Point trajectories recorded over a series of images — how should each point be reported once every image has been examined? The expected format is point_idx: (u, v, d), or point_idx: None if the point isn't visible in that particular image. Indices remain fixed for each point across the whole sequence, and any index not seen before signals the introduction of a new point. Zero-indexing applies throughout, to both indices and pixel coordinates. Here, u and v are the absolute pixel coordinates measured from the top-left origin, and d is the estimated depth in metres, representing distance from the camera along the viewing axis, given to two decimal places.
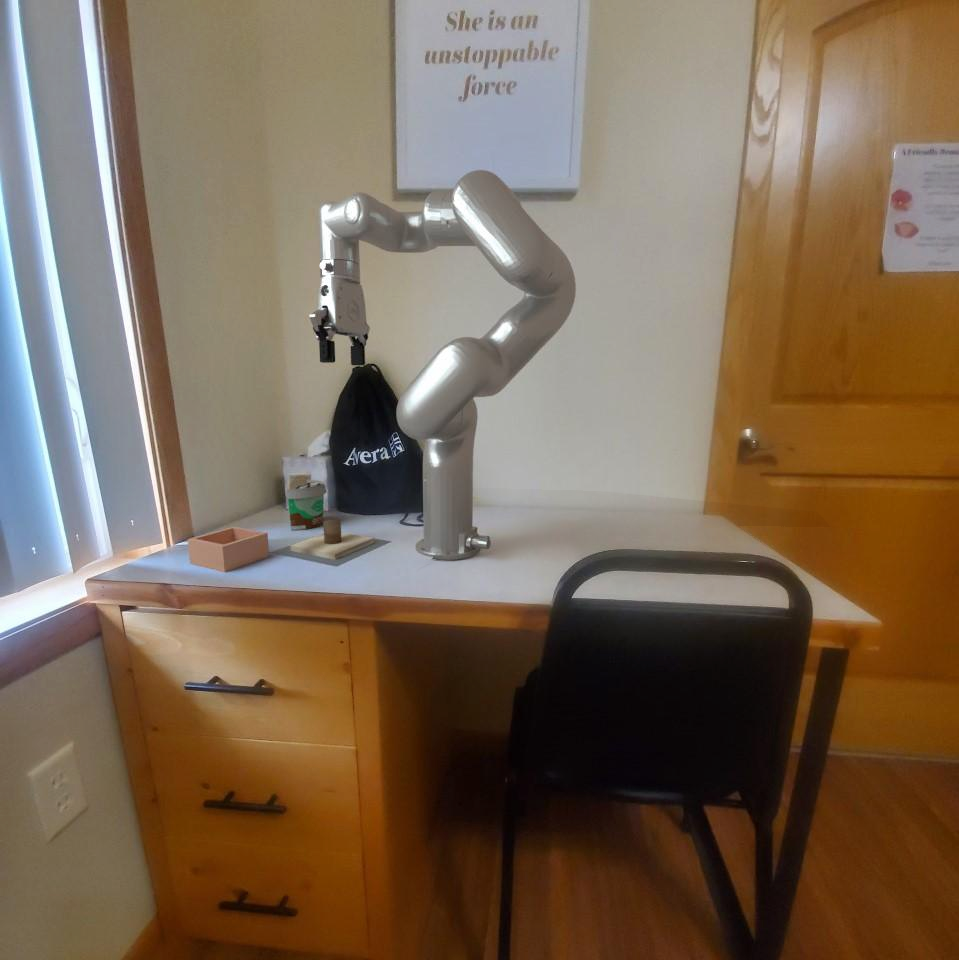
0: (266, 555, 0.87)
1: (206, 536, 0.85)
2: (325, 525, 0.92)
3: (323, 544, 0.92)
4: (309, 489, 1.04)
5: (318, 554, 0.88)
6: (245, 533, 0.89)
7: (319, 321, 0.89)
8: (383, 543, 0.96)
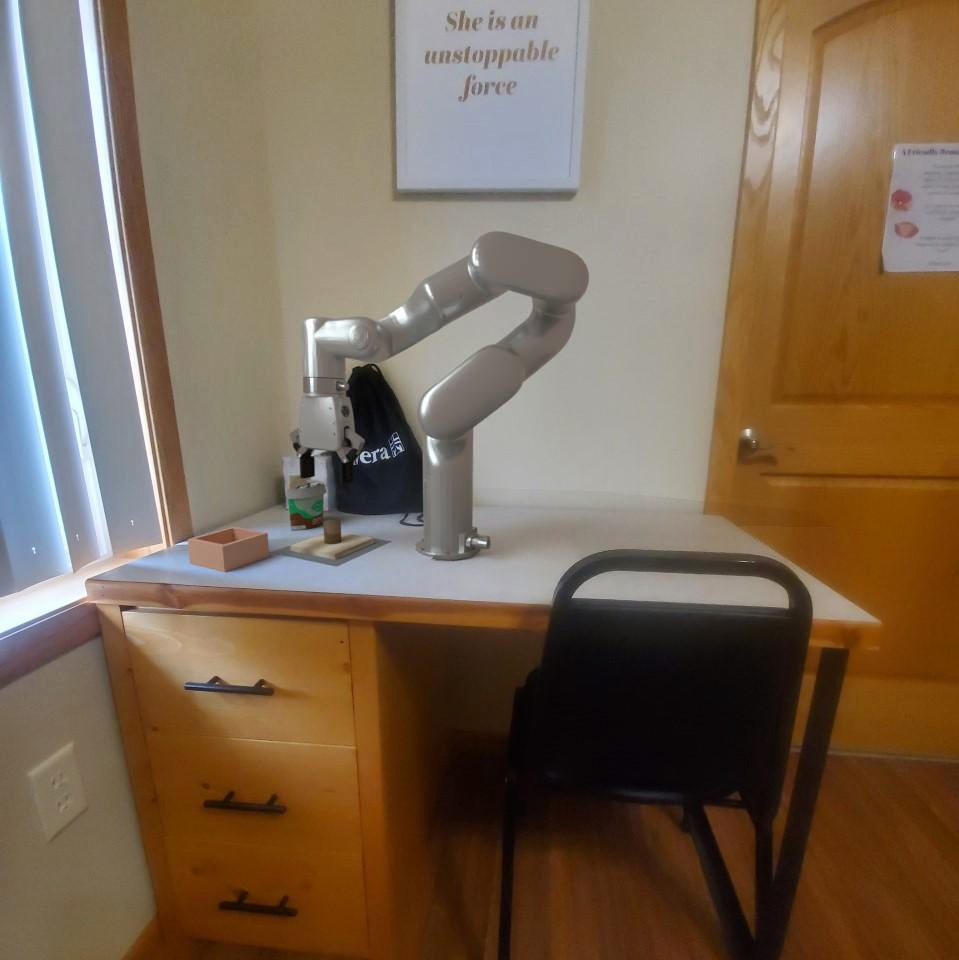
0: (266, 555, 0.87)
1: (206, 536, 0.85)
2: (325, 525, 0.92)
3: (323, 544, 0.92)
4: (309, 489, 1.04)
5: (318, 554, 0.88)
6: (245, 533, 0.89)
7: None
8: (383, 543, 0.96)
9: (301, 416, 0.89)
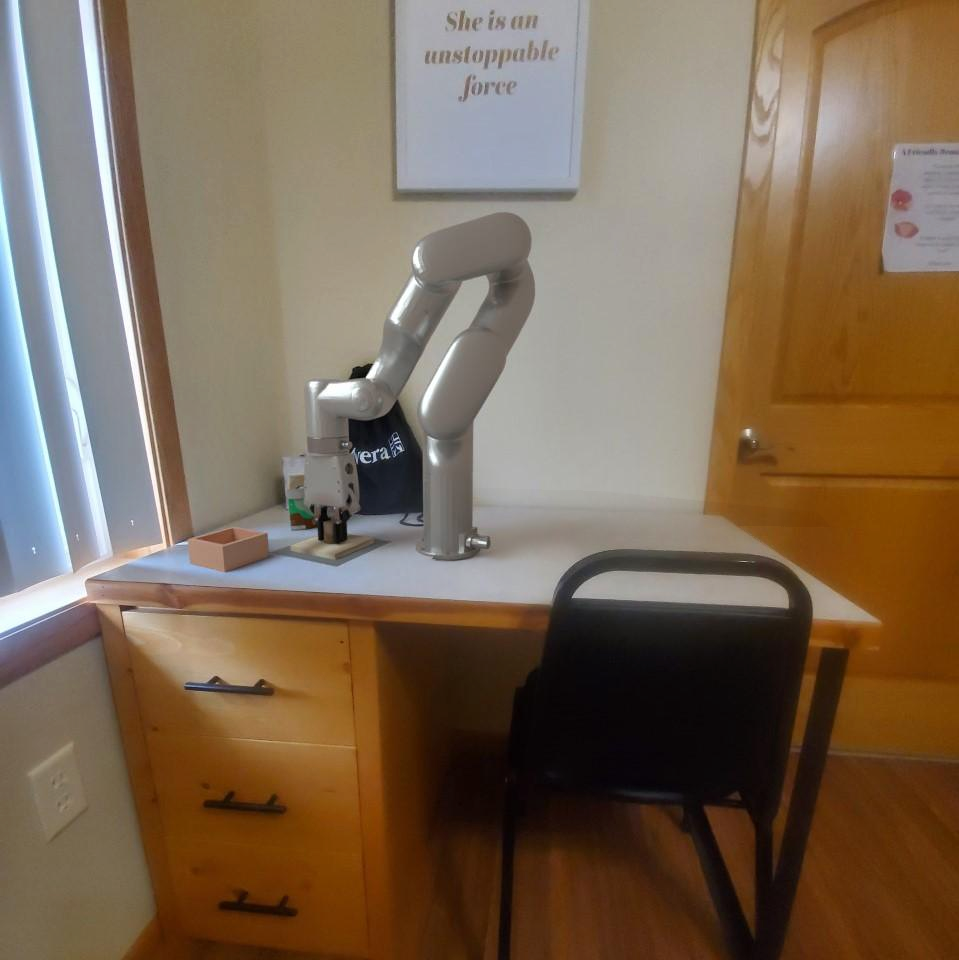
0: (266, 555, 0.87)
1: (206, 536, 0.85)
2: (325, 525, 0.92)
3: (323, 544, 0.92)
4: None
5: (318, 554, 0.88)
6: (245, 533, 0.89)
7: None
8: (383, 543, 0.96)
9: (306, 473, 0.91)
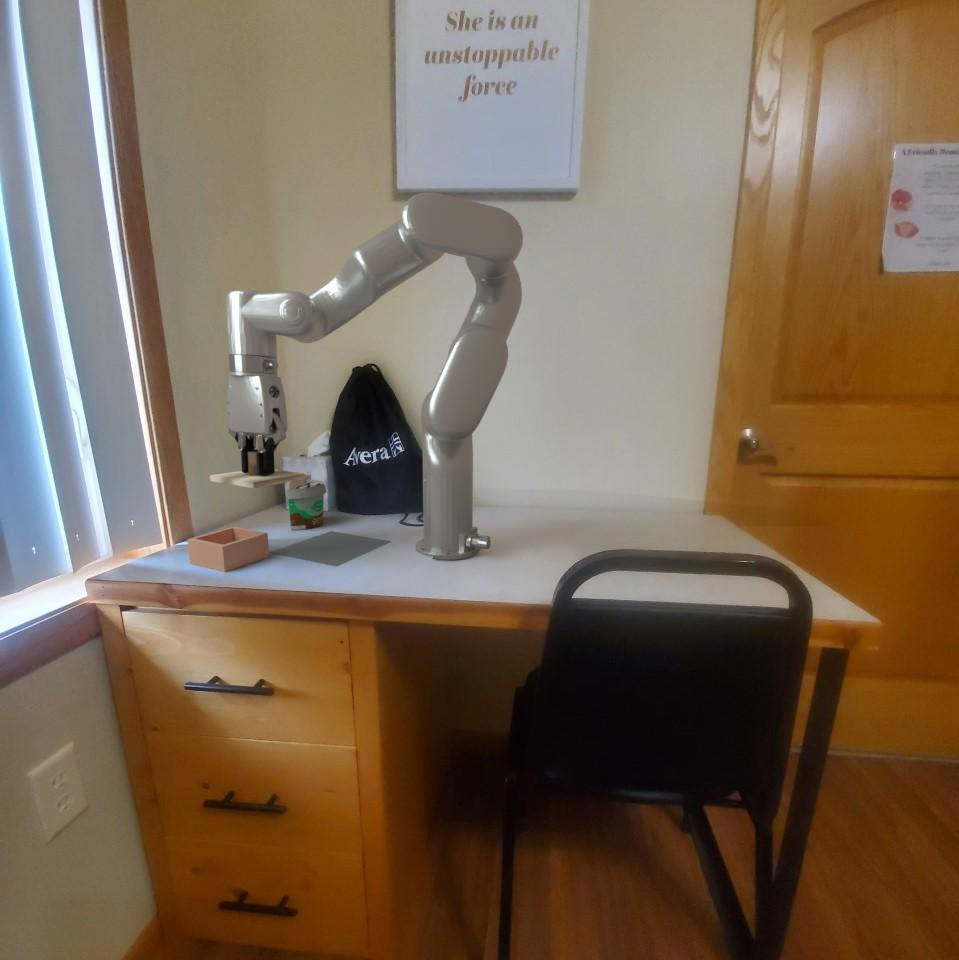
0: (266, 555, 0.87)
1: (206, 536, 0.85)
2: (249, 455, 0.84)
3: (246, 475, 0.84)
4: (309, 489, 1.04)
5: (237, 483, 0.80)
6: (245, 533, 0.89)
7: None
8: (383, 543, 0.96)
9: (229, 397, 0.83)
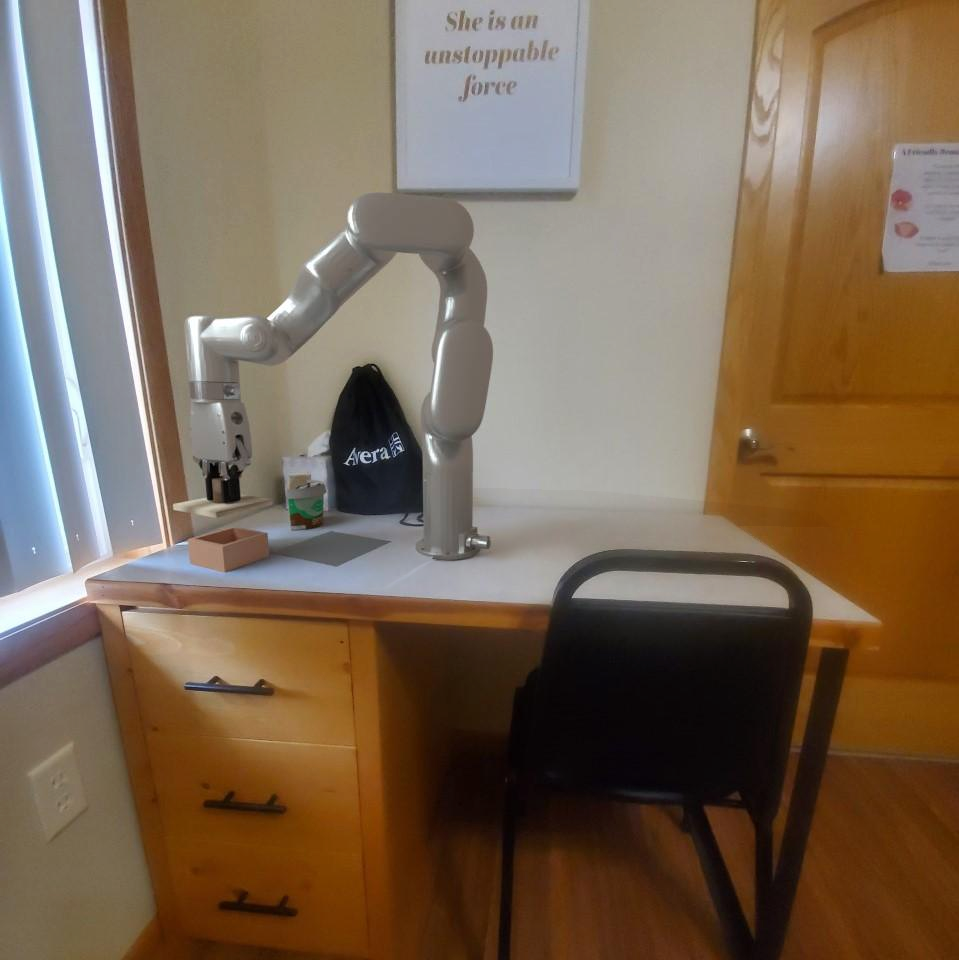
0: (266, 555, 0.87)
1: (206, 536, 0.85)
2: (213, 482, 0.82)
3: (211, 503, 0.82)
4: (309, 489, 1.04)
5: (200, 512, 0.79)
6: (245, 533, 0.89)
7: None
8: (383, 543, 0.96)
9: (191, 424, 0.81)
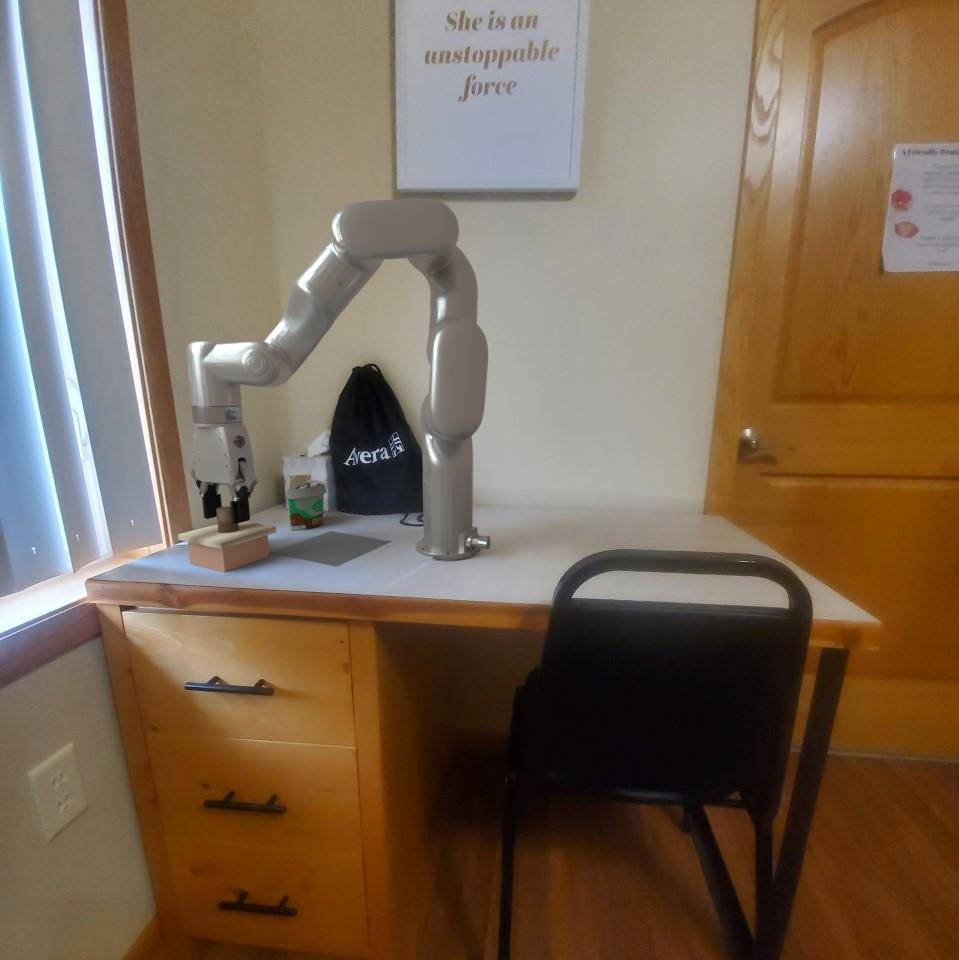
0: (266, 555, 0.87)
1: None
2: (217, 512, 0.83)
3: (216, 533, 0.83)
4: (309, 489, 1.04)
5: (205, 543, 0.80)
6: None
7: None
8: (383, 543, 0.96)
9: (194, 447, 0.82)
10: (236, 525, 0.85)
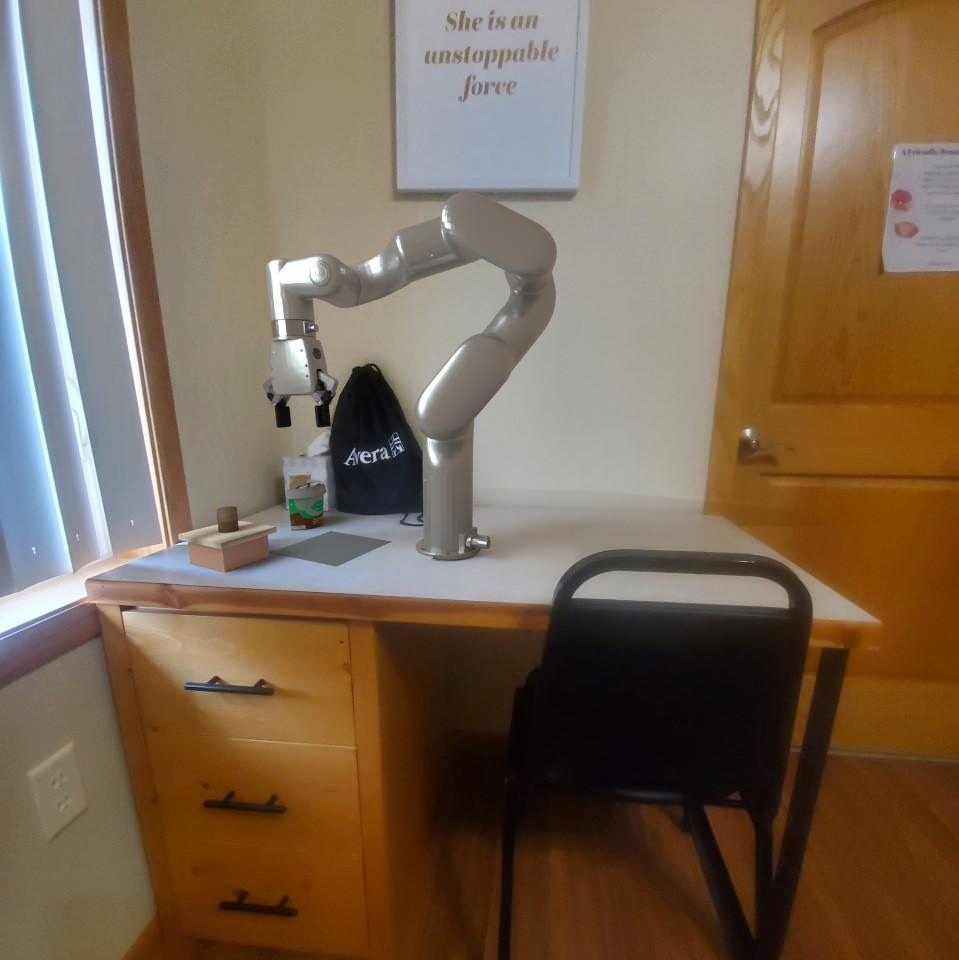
0: (266, 555, 0.87)
1: None
2: (217, 512, 0.83)
3: (216, 533, 0.83)
4: (309, 489, 1.04)
5: (205, 543, 0.80)
6: None
7: None
8: (383, 543, 0.96)
9: (273, 363, 0.88)
10: (236, 525, 0.85)
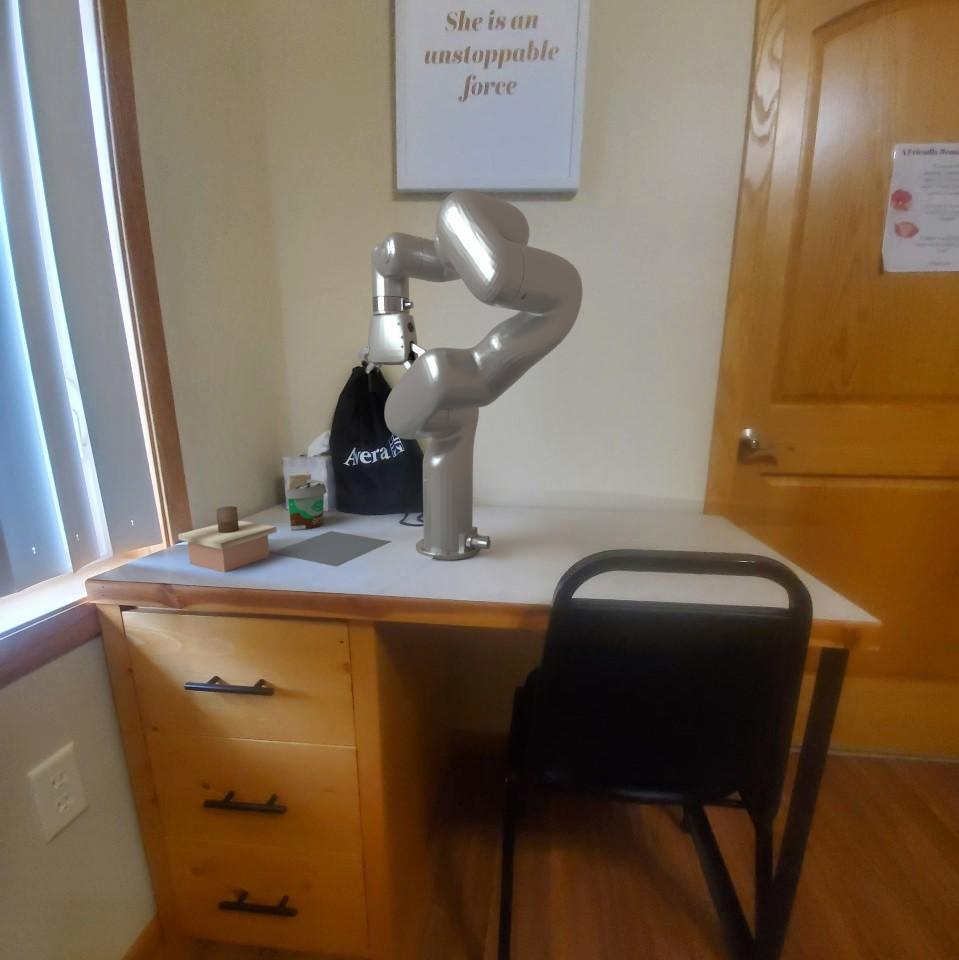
0: (266, 555, 0.87)
1: None
2: (217, 512, 0.83)
3: (216, 533, 0.83)
4: (309, 489, 1.04)
5: (205, 543, 0.80)
6: None
7: None
8: (383, 543, 0.96)
9: (370, 334, 1.01)
10: (236, 525, 0.85)
